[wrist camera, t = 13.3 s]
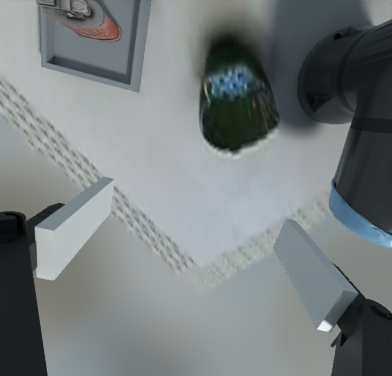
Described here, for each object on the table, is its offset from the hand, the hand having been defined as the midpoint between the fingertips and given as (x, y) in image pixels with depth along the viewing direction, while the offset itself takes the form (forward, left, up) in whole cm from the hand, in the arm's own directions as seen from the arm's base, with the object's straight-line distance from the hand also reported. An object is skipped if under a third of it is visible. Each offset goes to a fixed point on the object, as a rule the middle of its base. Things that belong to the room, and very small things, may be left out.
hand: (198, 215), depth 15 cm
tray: (+21, -15, -29) cm, 39 cm away
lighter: (+21, -15, -28) cm, 38 cm away
